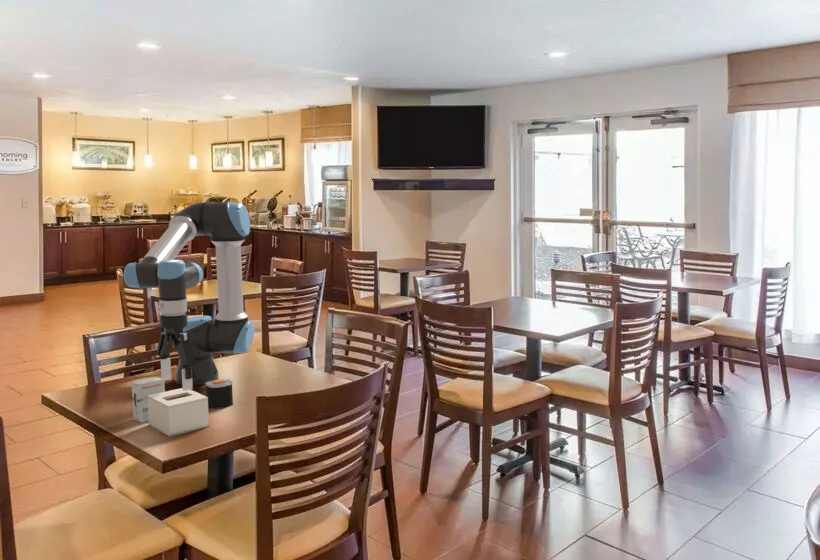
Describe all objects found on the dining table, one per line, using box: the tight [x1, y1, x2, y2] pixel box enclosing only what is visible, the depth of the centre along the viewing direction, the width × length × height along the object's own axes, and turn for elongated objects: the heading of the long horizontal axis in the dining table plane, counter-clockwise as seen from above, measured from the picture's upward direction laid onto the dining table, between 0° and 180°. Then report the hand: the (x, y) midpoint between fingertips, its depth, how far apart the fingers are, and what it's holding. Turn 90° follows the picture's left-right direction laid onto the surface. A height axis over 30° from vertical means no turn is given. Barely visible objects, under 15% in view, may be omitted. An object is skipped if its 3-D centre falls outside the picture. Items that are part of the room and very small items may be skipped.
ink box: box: [131, 376, 166, 424], centre depth 211 cm, size 8×5×12 cm, turn 140°
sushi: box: [204, 378, 234, 409], centre depth 225 cm, size 8×8×8 cm
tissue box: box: [147, 387, 210, 438], centre depth 204 cm, size 14×12×9 cm
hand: (176, 384), depth 203 cm, fingers open, 13 cm apart
